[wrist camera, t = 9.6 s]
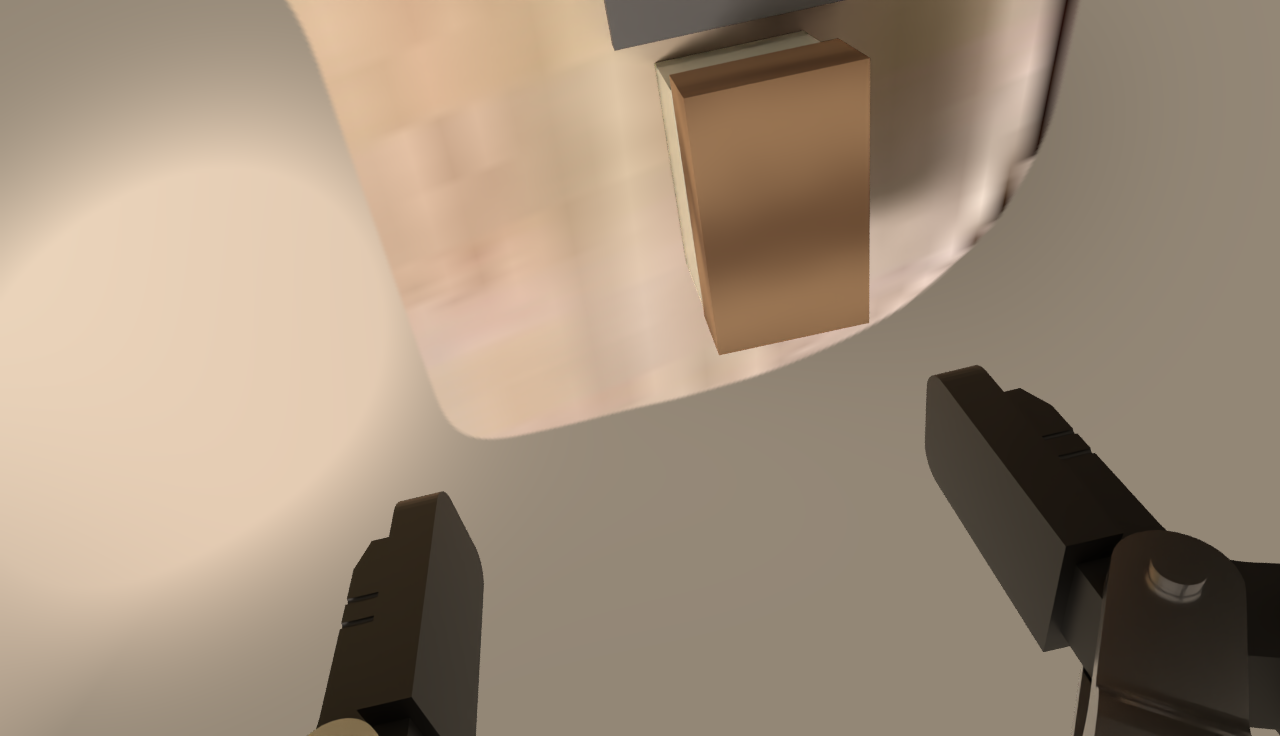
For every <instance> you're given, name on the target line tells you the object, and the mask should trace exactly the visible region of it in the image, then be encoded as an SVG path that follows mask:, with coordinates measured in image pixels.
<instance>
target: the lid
mask: <svg viewBox="0 0 1280 736" xmlns="http://www.w3.org/2000/svg"><path fill="white" fill-rule="evenodd" d="M669 78H670V85H671V92H672V99H673V106H674V112H675V119H676V126H677V133H678V140H679V146H680V153H681V160H682V167H683V174H684V180H685V187H686V194H687V201H688V208H689V214H690V221H691V228H692V235H693V241H694V248H695V255H696V262H697V269H698V275H699V282H700V289H701V296H702V303H703V309H704V316H705V319H706V321H707V324H708V327H709V329H710V332H711V335H712V337H713V340H714V343H715V345H716V348H717V351H718V353H719V355H722V354H727V353H732V352H736V351H741V350H746V349H750V348H755V347H759V346H764V345H769V344H773V343H778V342H782V341H787V340H792V339H796V338H801V337H806V336H810V335H815V334H819V333H824V332H829V331H833V330H838V329H842V328H847V327H852V326H856V325H861V324H866V323H869V225H870V58H869V57H868V56H866V55H864V54H863V53H861V52H860V51H858V50H856V49H855V48H853V47H851V46H850V45H848V44H847V43H845V42H843V41H842V40H840V39H838V38H837V39H832V40H828V41H823V42H818V43H814V44H809V45H805V46H800V47H795V48H791V49H786V50H782V51H777V52H772V53H768V54H763V55H758V56H754V57H749V58H745V59H740V60H735V61H731V62H726V63H722V64H717V65H712V66H708V67H703V68H698V69H694V70H689V71H685V72H680V73H675V74H671V75H669Z"/></svg>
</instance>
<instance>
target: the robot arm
mask: <svg viewBox="0 0 1280 736" xmlns="http://www.w3.org/2000/svg"><path fill="white" fill-rule="evenodd" d="M925 450H926V456H927V460H928V464H929V467H930V469H931V472H932V474H933V476H934V478H935V480H936V482H937V484H938V485H939V487H940V488H941V490H942V492H943V493H944V495H945V497H946V498H947V500H948V501H949V503H950V504H951V506H952V508H953V509H954V510H955V512H956V514H957V516H958V517H959V519H960V520H961V522H962V523H963V525H964V527H965V528H966V530H967V531H968V533H969V535H970V536H971V538H972V539H973V541H974V543H975V544H976V546H977V547H978V549H979V551H980V552H981V554H982V555H983V557H984V559H985V560H986V562H987V563H988V565H989V566H990V568H991V569H992V571H993V573H994V574H995V576H996V578H997V579H998V581H999V582H1000V584H1001V586H1002V587H1003V589H1004V590H1005V592H1006V593H1007V595H1008V597H1009V598H1010V599H1011V601H1012V603H1013V604H1014V606H1015V608H1016V609H1017V611H1018V613H1019V614H1020V616H1021V617H1022V619H1023V620H1024V622H1025V623H1026V625H1027V627H1028V628H1029V630H1030V632H1031V633H1032V635H1033V636H1034V638H1035V640H1036V641H1037V643H1038V644H1039V646H1040V648H1041V649H1042V651H1043V652H1046V651H1050V650H1055V649H1059V648H1063V647H1067V646H1070V647H1071V648H1072V650H1073V651H1074V652H1075V654H1076V656H1077V657H1078V659H1079V660H1080V662H1081V663H1082V667H1081V671H1080V675H1079V683H1078V690H1077V697H1076V704H1075V711H1074V718H1073V725H1072V732H1071V736H1252V735H1251V731H1250V727H1254V728H1265V729H1275V730H1276V731H1277V732H1278V733H1279V735H1280V564H1275V563H1253V562H1241V561H1234V560H1230V559H1229V558H1227V557H1226V556H1225V555H1224V554H1223V553H1221V552H1220V551H1219V550H1217V549H1216V548H1214V547H1213V546H1211V545H1209V544H1207V543H1205V542H1203V541H1201V540H1199V539H1197V538H1194V537H1191V536H1188V535H1185V534H1181V533H1178V532H1171V531H1167V530H1165V529H1164V528H1163V527H1162V526H1161V525H1160V524H1159V523H1158V522H1157V520H1156V519H1155V518H1154V517H1153V516H1152V515H1151V514H1150V513H1149V512H1148V511H1147V509H1145V507H1144V506H1143V505H1142V504H1141V503H1140V502H1139V501H1138V500H1137V498H1136V497H1135V496H1134V495H1133V494H1132V493H1131V492H1130V491H1129V490H1128V489H1127V488H1126V486H1125V485H1124V484H1123V483H1122V482H1121V481H1120V480H1119V479H1118V478H1117V477H1116V476H1115V474H1114V473H1113V472H1112V471H1111V470H1110V469H1109V468H1108V467H1107V466H1106V464H1105V463H1104V462H1103V461H1102V460H1101V459H1100V458H1099V457H1098V456H1097V455H1096V454H1095V453H1092V452H1091V449H1090V447H1089V446H1088V445H1087V444H1086V443H1085V442H1084V440H1083V439H1082V438H1081V437H1080V436H1079V435H1078V434H1074V432H1073V428H1072V427H1071V426H1070V425H1069V424H1068V423H1067V422H1066V421H1065V420H1064V419H1063V417H1062V416H1061V415H1060V414H1059V413H1058V412H1057V411H1056V410H1055V409H1054V407H1053V406H1051V405H1050V404H1048V403H1046V402H1045V401H1043V400H1041V399H1039V398H1037V397H1035V396H1034V395H1032V394H1030V393H1028V392H1026V391H1024V390H1023V389H1021V388H1018V389H1014V390H1010V391H1006V392H1003V390H1002V389H1001V388H1000V387H999V386H998V385H997V383H996V382H995V381H994V380H993V379H992V377H991V376H990V375H989V374H988V373H987V372H986V370H984V369H983V368H982V367H981V366H978V365H975V366H970V367H966V368H962V369H958V370H954V371H950V372H945V373H941V374H937V375H933V376H931V377H930V378H929V379H928V383H927V399H926V427H925ZM483 582H484V581H483V572H482V566H481V562H480V558H479V555H478V552H477V550H476V547H475V546H474V544H473V542H472V540H471V538H470V536H469V534H468V532H467V530H466V528H465V526H464V524H463V522H462V521H461V519H460V517H459V515H458V513H457V511H456V509H455V507H454V505H453V503H452V501H451V499H450V497H449V496H448V495H447V494H446V493H445V492H438V493H434V494H429V495H425V496H421V497H417V498H413V499H409V500H404V501H400V502H398V503H397V504H396V506H395V509H394V514H393V519H392V524H391V530H390V535H389V537H387V538H383V539H379V540H374V541H372V542H371V543H370V545H369V547H368V548H367V550H366V551H365V553H364V554H363V556H362V557H361V559H360V561H359V562H358V564H357V565H356V567H355V568H354V570H353V575H352V579H351V583H350V588H349V593H348V596H347V600H348V604H347V605H345V610H344V614H343V618H342V629H340V632H339V636H338V640H337V645H336V649H335V653H334V657H333V662H332V666H331V671H330V675H329V679H328V684H327V688H326V692H325V697H324V701H323V705H322V710H321V714H320V718H319V722H318V725H317V728H316V730H314V731H313V732H311V733H310V734H309V735H307V736H476V722H477V703H478V683H479V664H480V646H481V628H482V608H483V589H484V583H483Z"/></svg>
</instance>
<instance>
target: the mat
mask: <svg viewBox="0 0 1280 736" xmlns="http://www.w3.org/2000/svg"><path fill="white" fill-rule="evenodd" d="M838 1H843V0H604V3H605V8H606V14H607V19H608V24H609V30H610V35H611V40H612V45H613V48H614V50H620V49H624V48H629V47H633V46H638V45H643V44H647V43H652V42H656V41H661V40H665V39H670V38H674V37H679V36H684V35H688V34H693V33H697V32H702V31H706V30H711V29H715V28H720V27H725V26H729V25H734V24H738V23H743V22H747V21H752V20H756V19H761V18H766V17H770V16H775V15H779V14H784V13H788V12H793V11H797V10H802V9H807V8H811V7H816V6H820V5H825V4H829V3H834V2H838Z"/></svg>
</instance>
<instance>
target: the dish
mask: <svg viewBox="0 0 1280 736" xmlns="http://www.w3.org/2000/svg"><path fill="white" fill-rule="evenodd" d="M818 42H820V41H818V40H817V39H815V38H814V37H812V36H811V35H809V34H808V33H806V32H805V31H799V32H794V33H790V34H785V35H781V36H776V37H772V38H767V39H763V40H758V41H753V42H749V43H744V44H740V45H735V46H731V47H726V48H722V49H717V50H712V51H708V52H703V53H699V54H694V55H690V56H685V57H681V58H676V59H671V60H667V61H662V62H658V63H655V70H656V76H657V82H658V88H659V95H660V101H661V107H662V114H663V120H664V126H665V132H666V139H667V145H668V151H669V158H670V164H671V170H672V176H673V183H674V189H675V195H676V202H677V208H678V214H679V220H680V227H681V233H682V239H683V246H684V252H685V258H686V264H687V266H688V269H689V272H690V274H691V277H692V280H693V282H694V285H695V287H696V290H697V293H698V295H699V298H700V300H701V303H702V296H701V289H700V282H699V275H698V269H697V262H696V255H695V248H694V241H693V235H692V228H691V221H690V214H689V208H688V201H687V194H686V187H685V180H684V174H683V167H682V160H681V153H680V146H679V140H678V133H677V126H676V119H675V112H674V106H673V99H672V92H671V85H670V78H669V75H671V74H675V73H680V72H685V71H689V70H694V69H698V68H703V67H708V66H712V65H717V64H722V63H726V62H731V61H735V60H740V59H745V58H749V57H754V56H758V55H763V54H768V53H772V52H777V51H782V50H786V49H791V48H795V47H800V46H805V45H809V44H814V43H818ZM702 306H703V303H702Z"/></svg>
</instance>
